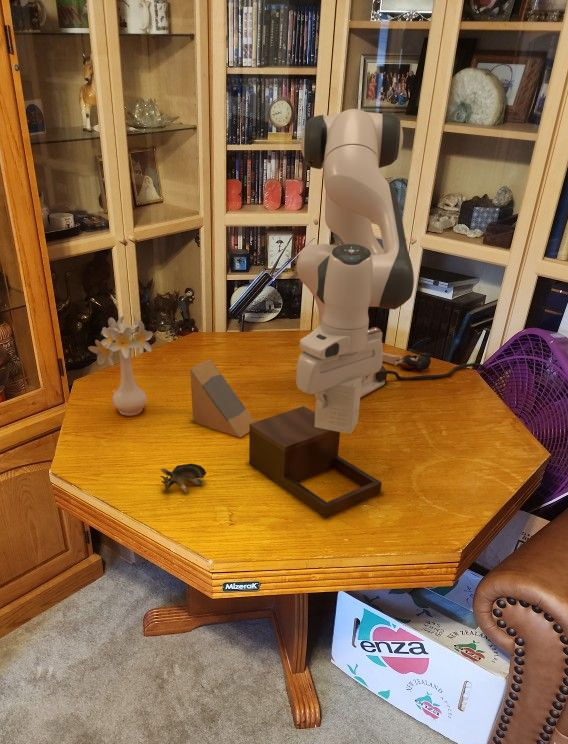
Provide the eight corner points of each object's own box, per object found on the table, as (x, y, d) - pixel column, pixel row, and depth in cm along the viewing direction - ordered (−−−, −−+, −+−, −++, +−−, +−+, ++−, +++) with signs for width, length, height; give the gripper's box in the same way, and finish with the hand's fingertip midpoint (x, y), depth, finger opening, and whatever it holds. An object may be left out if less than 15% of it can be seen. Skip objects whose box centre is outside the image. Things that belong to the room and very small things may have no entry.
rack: (301, 444, 164) (303, 405, 158) (380, 493, 145) (386, 452, 140) (248, 463, 156) (249, 424, 150) (325, 518, 138) (329, 475, 132)
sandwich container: (240, 438, 166) (240, 382, 158) (192, 422, 173) (189, 368, 165) (259, 425, 172) (260, 370, 163) (211, 409, 179) (210, 357, 171)
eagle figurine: (175, 500, 141) (211, 482, 144) (161, 469, 140) (198, 452, 143) (167, 500, 148) (202, 483, 151) (153, 471, 147) (189, 454, 150)
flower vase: (92, 424, 172) (79, 330, 158) (123, 394, 186) (114, 306, 172) (138, 431, 169) (129, 336, 155) (166, 401, 183) (160, 311, 169)
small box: (358, 422, 139) (363, 376, 133) (351, 435, 134) (355, 387, 128) (321, 415, 141) (325, 369, 135) (313, 427, 137) (316, 380, 131)
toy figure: (377, 368, 204) (427, 374, 198) (379, 347, 201) (429, 353, 195) (383, 362, 210) (431, 368, 204) (385, 342, 207) (434, 348, 201)
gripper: (371, 320, 134) (364, 383, 142) (292, 342, 124) (289, 409, 132) (394, 329, 130) (385, 394, 138) (314, 353, 120) (310, 421, 128)
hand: (338, 401), depth 135 cm, fingers closed on small box, 7 cm apart
